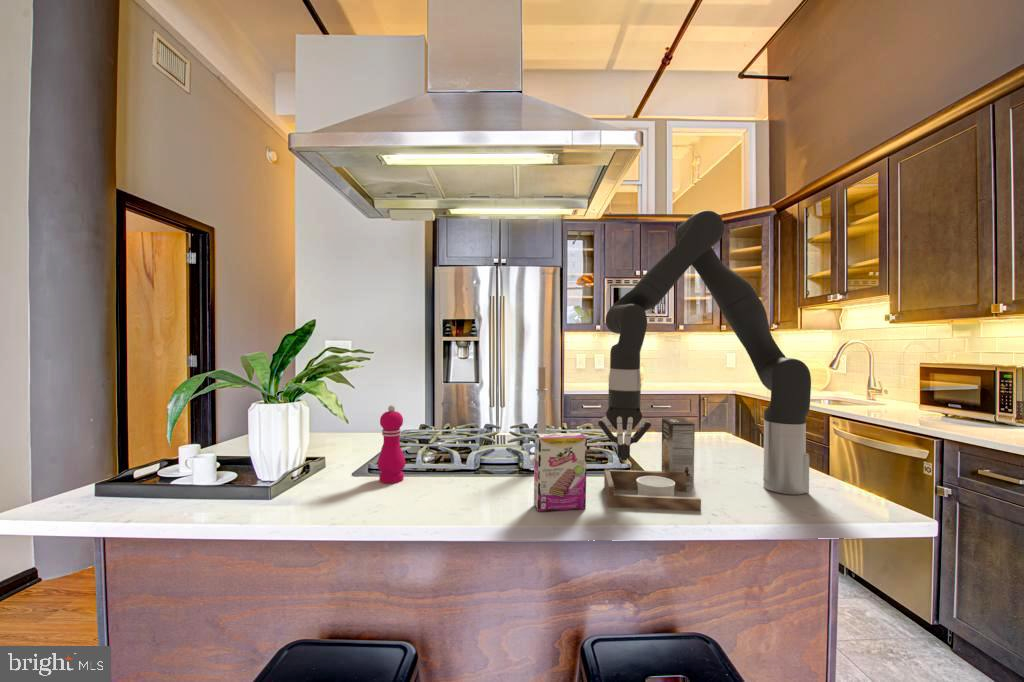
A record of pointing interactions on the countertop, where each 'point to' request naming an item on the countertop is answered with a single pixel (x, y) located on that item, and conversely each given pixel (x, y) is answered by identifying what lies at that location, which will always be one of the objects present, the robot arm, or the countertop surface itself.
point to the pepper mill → (391, 448)
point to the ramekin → (655, 486)
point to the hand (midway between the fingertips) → (623, 459)
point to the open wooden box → (628, 481)
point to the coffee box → (678, 447)
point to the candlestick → (541, 407)
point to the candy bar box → (560, 471)
